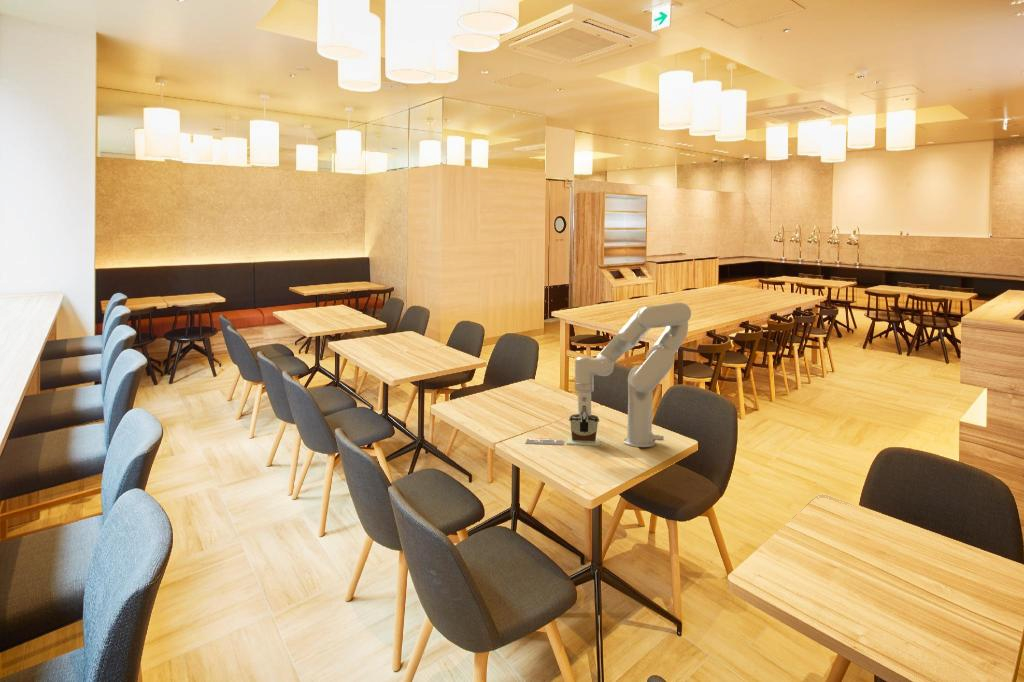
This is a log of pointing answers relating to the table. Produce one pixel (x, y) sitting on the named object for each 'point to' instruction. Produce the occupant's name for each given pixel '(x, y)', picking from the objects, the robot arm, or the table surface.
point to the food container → (584, 436)
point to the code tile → (545, 442)
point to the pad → (582, 442)
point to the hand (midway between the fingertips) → (583, 429)
